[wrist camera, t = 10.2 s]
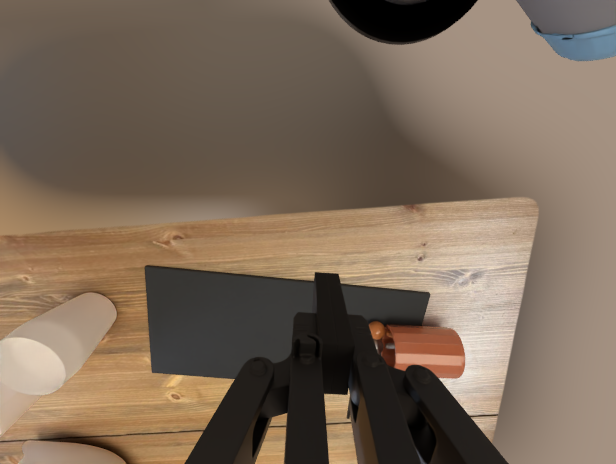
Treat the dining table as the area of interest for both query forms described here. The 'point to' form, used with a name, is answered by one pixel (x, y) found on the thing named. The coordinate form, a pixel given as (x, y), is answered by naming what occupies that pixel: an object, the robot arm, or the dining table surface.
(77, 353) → the cup
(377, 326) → the brown piece
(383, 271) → the dining table surface
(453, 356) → the spoon cup
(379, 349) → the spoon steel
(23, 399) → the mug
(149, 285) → the mat
